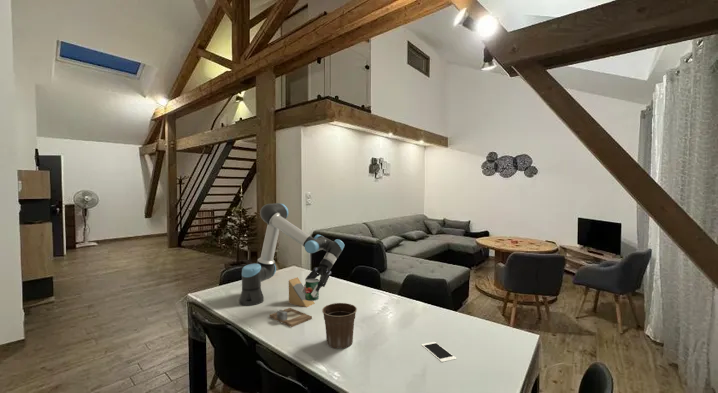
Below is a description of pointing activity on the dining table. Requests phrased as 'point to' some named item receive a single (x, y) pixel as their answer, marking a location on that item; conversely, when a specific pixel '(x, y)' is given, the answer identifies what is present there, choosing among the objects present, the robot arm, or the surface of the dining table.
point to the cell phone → (438, 351)
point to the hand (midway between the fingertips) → (307, 293)
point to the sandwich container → (297, 293)
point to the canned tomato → (311, 289)
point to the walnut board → (290, 317)
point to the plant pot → (339, 324)
